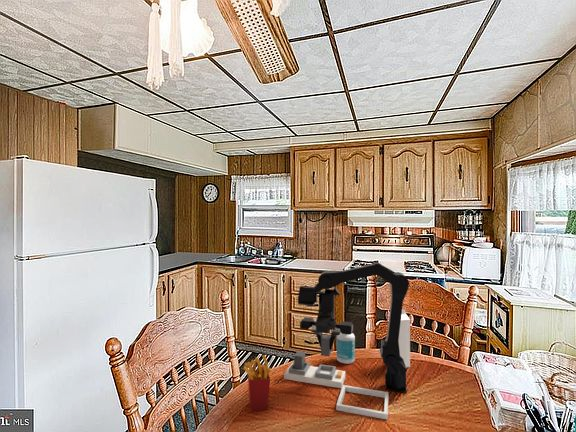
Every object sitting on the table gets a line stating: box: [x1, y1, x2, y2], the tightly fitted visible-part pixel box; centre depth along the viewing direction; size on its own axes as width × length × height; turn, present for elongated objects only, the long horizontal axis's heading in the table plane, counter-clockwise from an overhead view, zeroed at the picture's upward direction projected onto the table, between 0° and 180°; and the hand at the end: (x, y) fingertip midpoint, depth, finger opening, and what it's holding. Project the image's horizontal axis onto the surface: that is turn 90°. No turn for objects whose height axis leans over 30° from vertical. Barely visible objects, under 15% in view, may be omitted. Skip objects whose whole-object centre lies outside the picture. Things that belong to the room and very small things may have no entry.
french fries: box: [243, 354, 272, 413], centre depth 103 cm, size 9×8×15 cm
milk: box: [398, 309, 411, 369], centre depth 132 cm, size 6×6×22 cm
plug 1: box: [293, 350, 306, 370], centre depth 123 cm, size 3×4×6 cm, turn 162°
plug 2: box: [320, 333, 332, 357], centre depth 119 cm, size 3×4×6 cm, turn 162°
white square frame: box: [335, 384, 389, 420], centre depth 104 cm, size 15×13×2 cm
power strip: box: [283, 361, 346, 389], centre depth 121 cm, size 21×9×4 cm, turn 72°
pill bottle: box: [336, 332, 356, 365], centre depth 136 cm, size 8×7×14 cm
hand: (326, 349), depth 119 cm, fingers closed on plug 2, 3 cm apart
